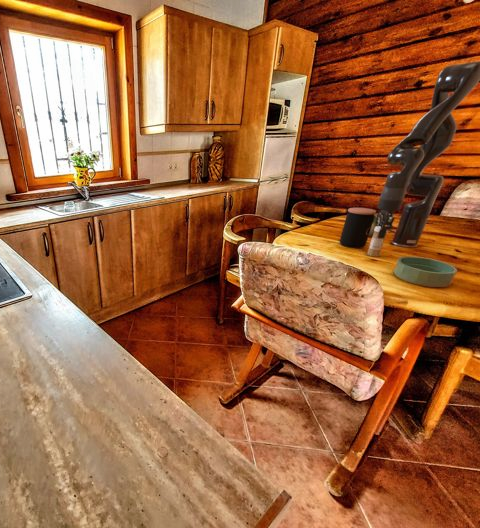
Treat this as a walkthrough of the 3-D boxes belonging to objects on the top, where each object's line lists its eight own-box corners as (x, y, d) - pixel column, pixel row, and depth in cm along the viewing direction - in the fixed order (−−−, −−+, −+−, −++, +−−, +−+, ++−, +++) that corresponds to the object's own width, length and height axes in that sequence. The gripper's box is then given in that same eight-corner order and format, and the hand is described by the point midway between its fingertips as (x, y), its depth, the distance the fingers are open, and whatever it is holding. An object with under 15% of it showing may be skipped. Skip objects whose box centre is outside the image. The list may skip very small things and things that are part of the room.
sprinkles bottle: (380, 255, 128) (390, 227, 122) (376, 257, 125) (386, 229, 120) (368, 252, 131) (377, 225, 126) (364, 254, 129) (373, 227, 123)
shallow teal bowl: (387, 267, 116) (392, 254, 113) (439, 273, 109) (445, 259, 107) (400, 284, 103) (405, 269, 101) (458, 291, 96) (466, 276, 94)
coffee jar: (366, 250, 134) (378, 213, 126) (339, 246, 139) (349, 211, 132) (363, 243, 142) (374, 208, 135) (338, 240, 147) (347, 207, 140)
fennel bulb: (361, 234, 154) (367, 213, 149) (372, 235, 152) (379, 213, 147) (364, 237, 149) (370, 215, 144) (375, 238, 147) (382, 216, 142)
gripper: (409, 201, 110) (394, 242, 117) (397, 195, 122) (385, 232, 129) (385, 200, 113) (372, 240, 120) (376, 194, 125) (364, 230, 132)
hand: (379, 235), depth 124 cm, fingers closed on sprinkles bottle, 4 cm apart
